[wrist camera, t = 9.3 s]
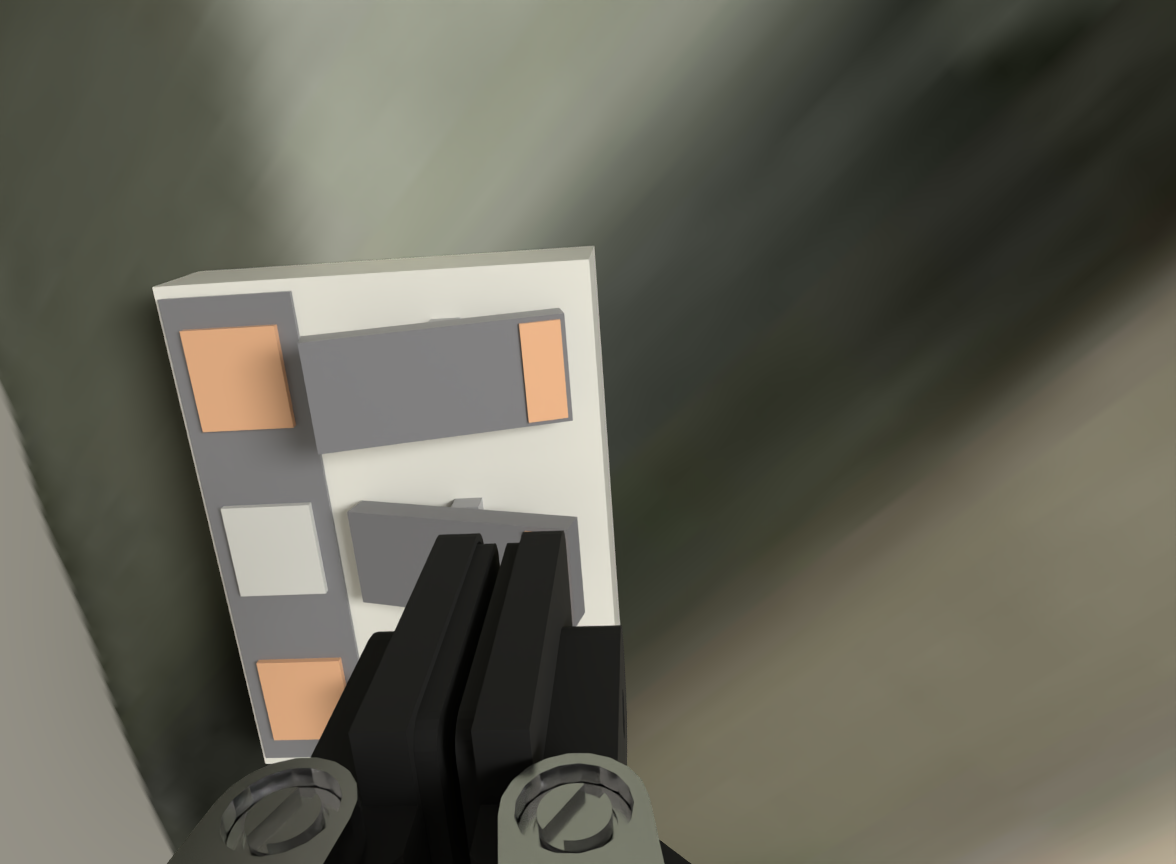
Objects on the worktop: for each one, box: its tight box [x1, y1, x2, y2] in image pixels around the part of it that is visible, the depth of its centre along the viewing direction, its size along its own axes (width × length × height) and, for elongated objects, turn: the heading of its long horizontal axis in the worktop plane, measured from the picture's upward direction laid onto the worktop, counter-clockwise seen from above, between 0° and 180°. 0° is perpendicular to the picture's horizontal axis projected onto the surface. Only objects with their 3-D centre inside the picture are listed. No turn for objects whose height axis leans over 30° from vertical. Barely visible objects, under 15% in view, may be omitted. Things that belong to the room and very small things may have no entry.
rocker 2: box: [347, 500, 585, 626], centre depth 37 cm, size 4×10×1 cm, turn 94°
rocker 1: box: [297, 308, 573, 455], centre depth 34 cm, size 4×10×1 cm, turn 94°
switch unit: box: [152, 246, 620, 764], centre depth 40 cm, size 24×18×5 cm
